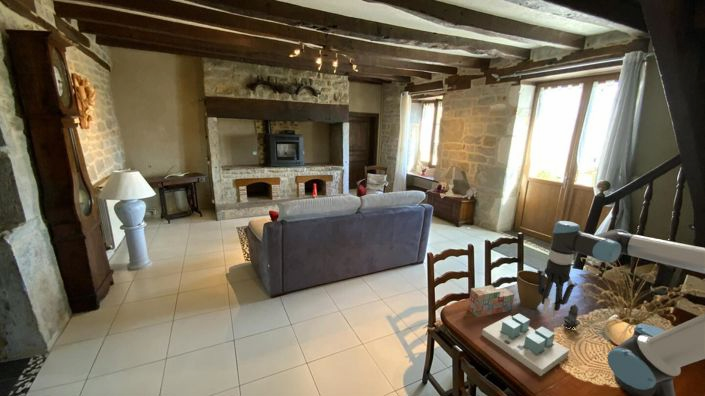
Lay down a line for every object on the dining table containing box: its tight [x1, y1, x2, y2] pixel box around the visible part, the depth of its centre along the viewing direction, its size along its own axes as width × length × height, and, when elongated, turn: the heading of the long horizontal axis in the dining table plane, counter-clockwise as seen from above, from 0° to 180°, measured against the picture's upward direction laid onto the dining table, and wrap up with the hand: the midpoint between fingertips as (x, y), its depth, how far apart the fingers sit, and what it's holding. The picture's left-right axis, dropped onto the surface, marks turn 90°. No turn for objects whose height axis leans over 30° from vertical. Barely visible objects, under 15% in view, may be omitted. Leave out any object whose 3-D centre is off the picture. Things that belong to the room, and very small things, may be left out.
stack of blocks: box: [467, 285, 515, 318], centre depth 144 cm, size 21×6×12 cm, turn 106°
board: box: [481, 315, 570, 377], centre depth 122 cm, size 25×20×3 cm
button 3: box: [524, 332, 546, 355], centre depth 116 cm, size 5×5×5 cm
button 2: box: [512, 313, 531, 333], centre depth 127 cm, size 5×5×5 cm
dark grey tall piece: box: [562, 304, 580, 329], centre depth 132 cm, size 6×6×12 cm
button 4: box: [534, 326, 556, 348], centre depth 119 cm, size 5×5×5 cm
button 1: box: [501, 318, 521, 338], centre depth 124 cm, size 5×5×5 cm
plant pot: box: [516, 270, 548, 310], centre depth 148 cm, size 15×15×16 cm
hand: (548, 314), depth 116 cm, fingers open, 2 cm apart
